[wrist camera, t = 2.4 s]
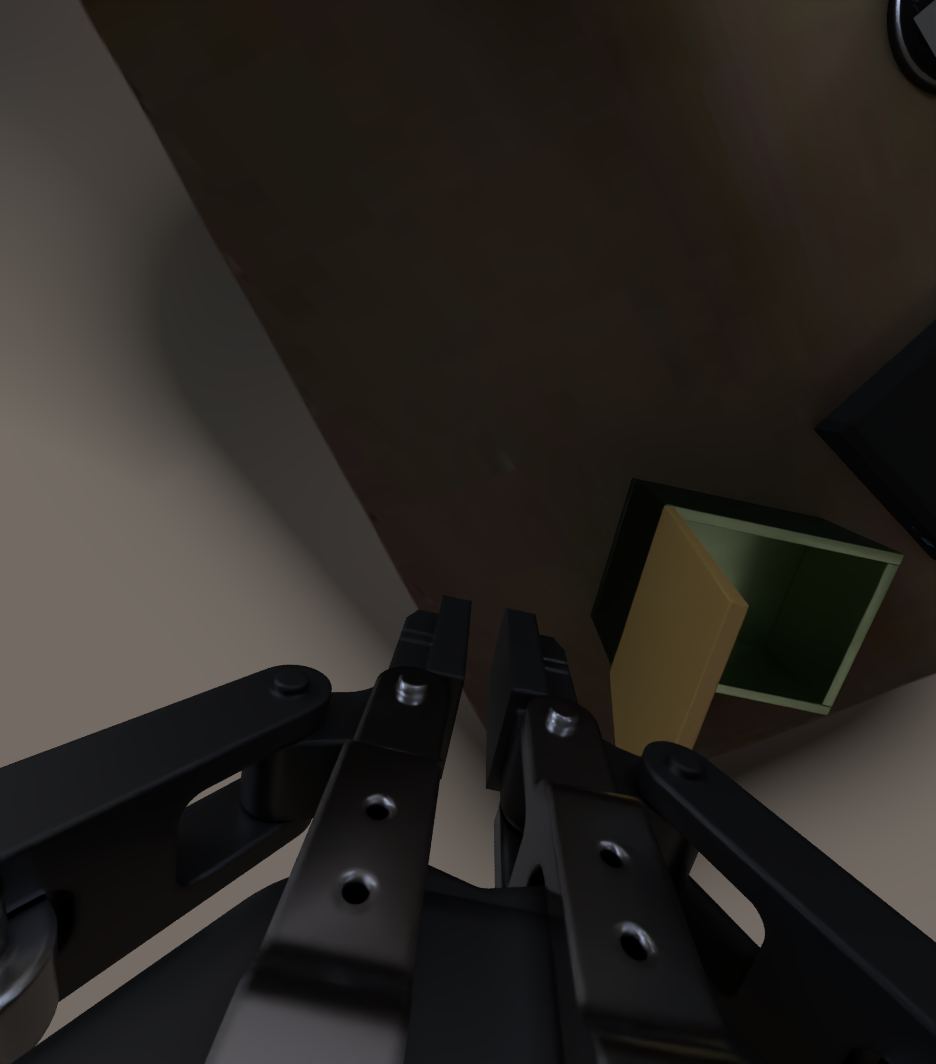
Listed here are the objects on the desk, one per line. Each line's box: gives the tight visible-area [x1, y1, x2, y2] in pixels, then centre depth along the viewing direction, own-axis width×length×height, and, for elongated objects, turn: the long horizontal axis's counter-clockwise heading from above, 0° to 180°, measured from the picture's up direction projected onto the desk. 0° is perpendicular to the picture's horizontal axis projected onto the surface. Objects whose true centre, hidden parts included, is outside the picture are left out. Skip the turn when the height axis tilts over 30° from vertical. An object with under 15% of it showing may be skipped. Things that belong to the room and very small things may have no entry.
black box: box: [591, 478, 904, 715], centre depth 37 cm, size 14×11×8 cm
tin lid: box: [610, 505, 749, 757], centre depth 25 cm, size 15×11×1 cm
